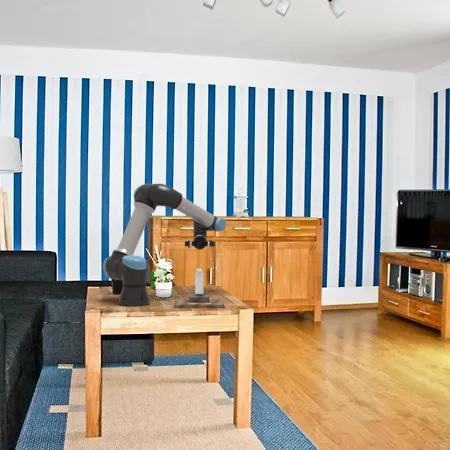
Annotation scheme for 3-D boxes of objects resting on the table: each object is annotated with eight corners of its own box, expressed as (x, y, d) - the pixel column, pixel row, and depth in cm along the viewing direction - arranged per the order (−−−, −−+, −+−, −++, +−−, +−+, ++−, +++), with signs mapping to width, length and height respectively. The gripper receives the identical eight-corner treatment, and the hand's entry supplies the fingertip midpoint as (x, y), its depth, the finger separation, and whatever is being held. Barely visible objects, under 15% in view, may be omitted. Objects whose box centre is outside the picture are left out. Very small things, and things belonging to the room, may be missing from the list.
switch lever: (195, 293, 307) (195, 268, 312) (195, 294, 310) (195, 269, 314) (203, 293, 307) (203, 268, 312) (203, 294, 310) (203, 269, 314)
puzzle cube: (173, 288, 366) (173, 271, 365) (157, 290, 361) (157, 272, 360) (166, 286, 374) (166, 270, 374) (150, 287, 369) (150, 270, 369)
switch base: (173, 308, 299) (173, 298, 299) (175, 302, 317) (175, 293, 317) (224, 308, 300) (224, 298, 300) (223, 302, 318) (223, 293, 318)
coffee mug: (123, 294, 340) (123, 276, 340) (108, 294, 342) (108, 276, 342) (130, 291, 352) (130, 274, 351) (116, 291, 353) (116, 273, 353)
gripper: (219, 249, 350) (220, 252, 327) (180, 249, 349) (178, 252, 326) (219, 235, 349) (220, 237, 327) (180, 235, 349) (179, 237, 326)
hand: (199, 245), depth 327 cm, fingers open, 9 cm apart
